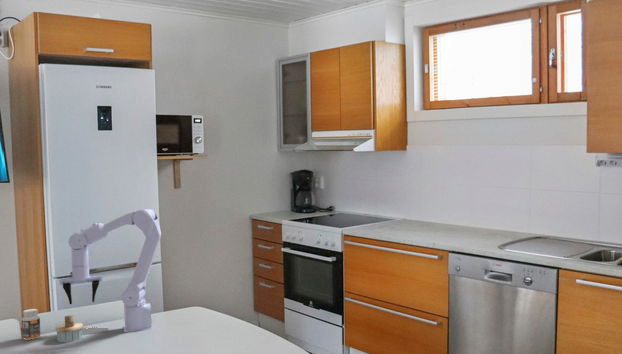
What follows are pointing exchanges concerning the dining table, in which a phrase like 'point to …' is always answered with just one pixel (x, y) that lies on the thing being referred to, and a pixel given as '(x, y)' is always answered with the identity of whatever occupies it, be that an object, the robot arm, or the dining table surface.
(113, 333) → the dining table surface
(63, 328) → the lid
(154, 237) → the robot arm
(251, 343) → the dining table surface
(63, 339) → the bowl
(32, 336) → the pill bottle
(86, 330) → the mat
